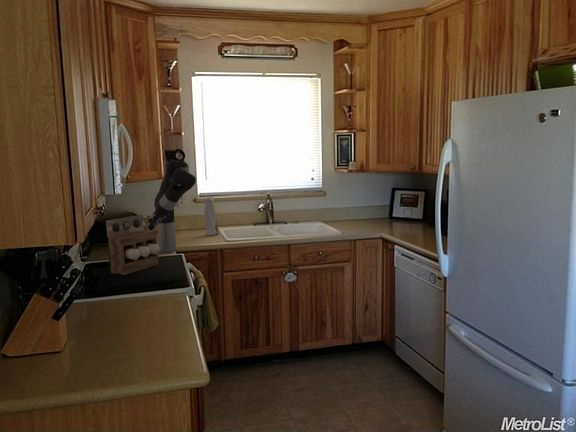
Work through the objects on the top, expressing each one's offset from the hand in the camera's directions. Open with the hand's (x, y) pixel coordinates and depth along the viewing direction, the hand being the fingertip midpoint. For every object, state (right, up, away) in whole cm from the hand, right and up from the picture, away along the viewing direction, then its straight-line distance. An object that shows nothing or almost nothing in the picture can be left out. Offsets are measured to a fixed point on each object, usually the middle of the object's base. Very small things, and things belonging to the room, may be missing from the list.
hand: (150, 228), depth 241 cm
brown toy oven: (-11, -21, +13) cm, 26 cm away
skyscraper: (+14, -7, +104) cm, 105 cm away
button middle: (-7, -14, +9) cm, 18 cm away
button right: (-3, -13, +14) cm, 19 cm away
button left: (-10, -15, +3) cm, 18 cm away
